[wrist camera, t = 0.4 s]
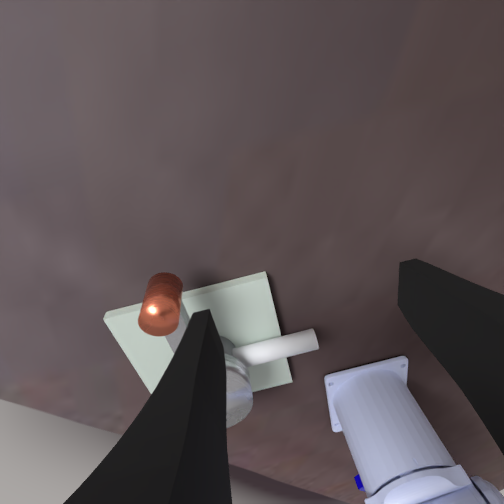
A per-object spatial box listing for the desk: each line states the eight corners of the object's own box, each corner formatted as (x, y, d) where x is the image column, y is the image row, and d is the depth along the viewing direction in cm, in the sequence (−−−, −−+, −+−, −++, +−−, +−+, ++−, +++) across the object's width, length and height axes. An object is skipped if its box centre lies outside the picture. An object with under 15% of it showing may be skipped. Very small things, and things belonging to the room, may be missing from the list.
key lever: (257, 395, 24) (262, 433, 22) (183, 413, 24) (180, 454, 22) (210, 260, 18) (210, 292, 15) (108, 286, 18) (91, 322, 15)
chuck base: (316, 367, 29) (327, 397, 26) (165, 406, 29) (161, 439, 26) (298, 262, 22) (310, 287, 20) (106, 311, 23) (93, 342, 20)
